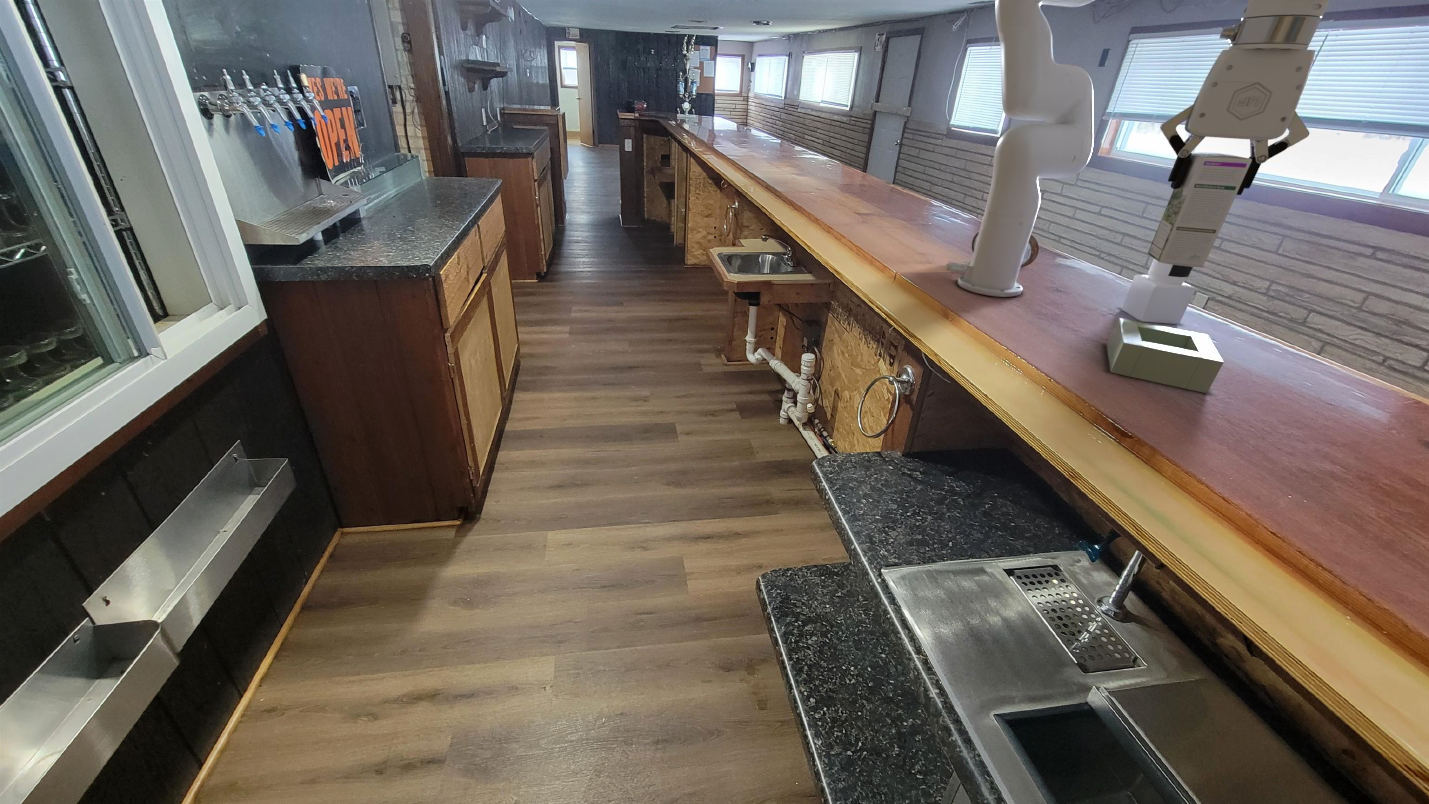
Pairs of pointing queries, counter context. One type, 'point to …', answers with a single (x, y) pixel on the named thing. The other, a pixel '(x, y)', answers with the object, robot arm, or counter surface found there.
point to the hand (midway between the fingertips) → (1204, 189)
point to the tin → (1029, 253)
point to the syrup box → (1198, 209)
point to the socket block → (1163, 355)
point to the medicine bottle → (1159, 294)
